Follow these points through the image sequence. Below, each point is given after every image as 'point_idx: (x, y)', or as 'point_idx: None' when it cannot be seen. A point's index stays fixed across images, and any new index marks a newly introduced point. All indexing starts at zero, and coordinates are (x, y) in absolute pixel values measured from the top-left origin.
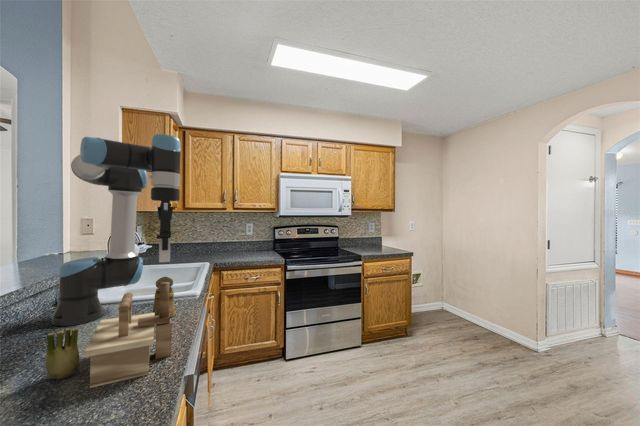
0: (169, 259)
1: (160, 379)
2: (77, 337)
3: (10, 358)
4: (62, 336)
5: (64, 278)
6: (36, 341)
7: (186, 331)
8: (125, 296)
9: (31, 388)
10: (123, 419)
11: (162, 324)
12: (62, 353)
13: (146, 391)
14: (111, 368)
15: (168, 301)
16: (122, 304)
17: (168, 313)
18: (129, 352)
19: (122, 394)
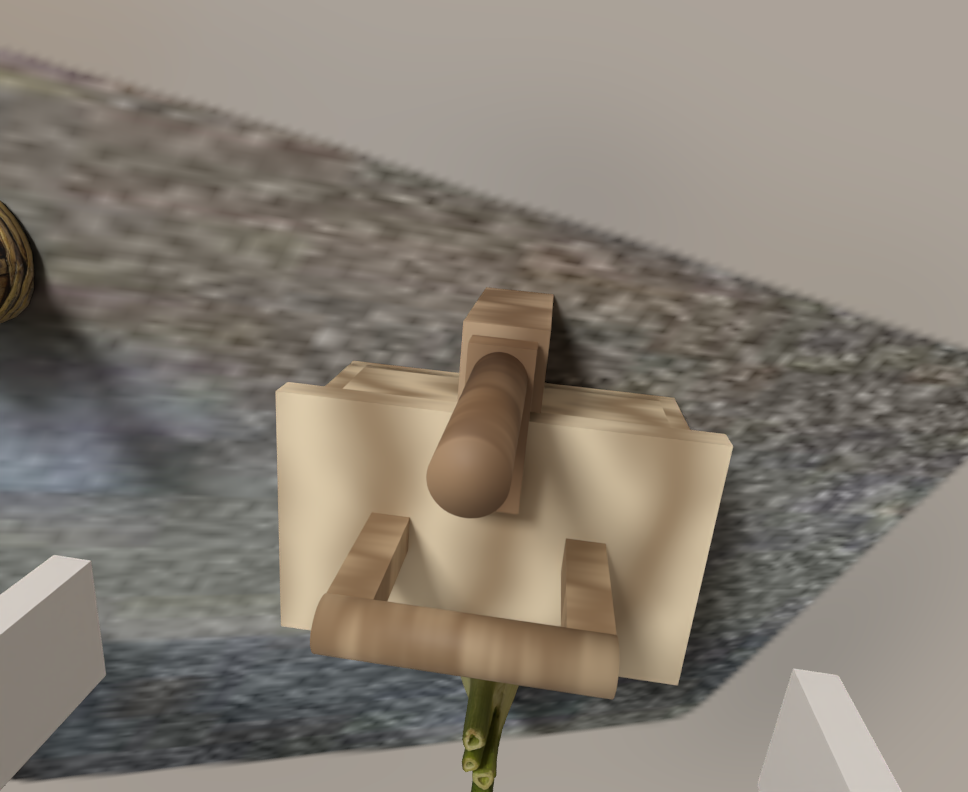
0: (854, 713)
1: (749, 362)
2: (479, 700)
3: (253, 752)
4: (496, 760)
5: None
6: (125, 708)
7: (279, 171)
8: (417, 664)
9: (526, 691)
10: (929, 489)
11: (534, 380)
12: (505, 700)
13: (805, 416)
14: None
15: (509, 391)
16: (614, 691)
17: (513, 362)
18: None
19: (763, 484)
